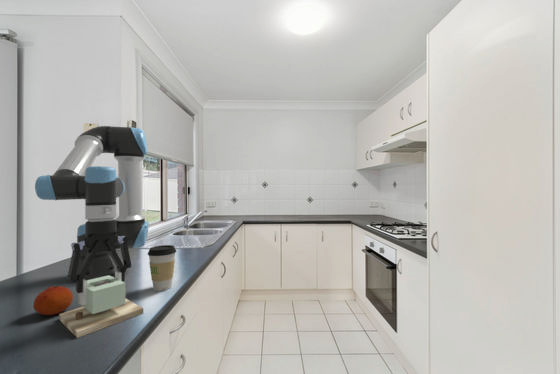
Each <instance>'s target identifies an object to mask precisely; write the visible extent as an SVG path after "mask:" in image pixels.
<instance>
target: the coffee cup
mask: <svg viewBox="0 0 560 374" xmlns="http://www.w3.org/2000/svg"><path fill="white" fill-rule="evenodd" d="M176 253H177V249H176V247H175V245H171V244H167V245H166V244H164V245H156V246H152V247H150V248H149V249H148V252H147V256H148V258H149V259H148V260H149V270H150V276H151V282H152V287H153V289H152V290H153V291H156V292H162V291H163V290H164V291H167V290H169V288H170V289H171V288H172V286H173V277H174V272H175V271H174V269H175V263H176V262H175V260H176V258H175V257H176ZM164 291H163V292H164Z"/></svg>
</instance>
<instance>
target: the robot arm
mask: <svg viewBox="0 0 560 374" xmlns="http://www.w3.org/2000/svg"><path fill="white" fill-rule="evenodd" d="M72 148H73V149H72V150H71V151H70V152H69V154H68V155H67V156H66V158H65V159H64V160H63V161H62V163H61V164H60V166H59V167H58V168H57V170H56V171H55V172H54V173H53V174H52V175H50V174H47V175H40V176H38V177H37V178H36V180H35V184H34V190H35V193H36V194H35V195H36V196H37V198H39V199H40V200H44V201H45V200H46V201H47V200H48V201H64V200H67V201H68V200H84V202H85V207H84V208H85V210H84V214H85V215H84V216H85V217H84V219H85V220H87V221H86V222H85V223H84V224H80V225H79V226H78V227H77V235H76V242H72V243H71V244H70V245H71V250H72V253H71V259H70V263H69V268H68V272H67V280H69V281H71V282H75V291H76V293H77V294H78V293H80V303H81V304H83V305H86V304H87V280H91V279H95V278H99V277H104V276H108V275H110V276H113V275H114V278H116V279H118V280H120V281H122V282H125V278H126V276H125V275H126V274H125V273H126V271H127V270H128V269H131V268H132V261H131V256H130V251H129V249H138V248H143V247H144V246H145V245H146V243H147V239H148V234H149V233H148V232H149V224H150V223H149V221H146V218H145V216H144V215H142V204H141V203H142V201H141V199H142V198H141V197H142V196H141V192H142V191H141V190H142V189H141V161H143V160H144V159H145V157H144V156H145V155H148V154H149V153H148V152H149V151H148V144H147V138H146V135H145V131H144V130H143V129H142V128H140V127H139V128H138V127H132V126H129V127H127V126H111V125H109V126H108V125H102V126H95V127H93V128H91V129H87V130H85V131H84V132H82V133H81V134H80V135H79V136H78V137H77V138H76V139H75V141H74V147H72ZM101 154H113V158H114V159H115V160H116V161H117V168H118V169H117V170H118V171H117V170H116V168H114V167H112V166H111V167H110V166H92V165H93V163H94V162H95V160H96V158H97V157H99V156H101ZM117 172H118V174H117ZM117 198H118V216H117ZM117 250H120V253H121V258H120V256H119V255H118V252H117ZM121 259H122V260H121ZM116 268H117V270H116Z"/></svg>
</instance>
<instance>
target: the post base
mask: <svg viewBox="0 0 560 374" xmlns="http://www.w3.org/2000/svg"><path fill="white" fill-rule="evenodd" d="M108 283H109V282H108V281H104V282H99V283H96V284H95V287H97V286H100V285H104V284H108ZM142 314H144V307H142V306H140V305H138V304H136V303H135V302H133V301H132V300H129V299H128V298H126V297H125V304H123V305H120V306H117V307H114V308H111V309H108V310H105V311H102V312H98V313H95V314H92V313H90V312H89V311H88V310H86V309H85V308H84V307H83V306H80V307H77V308H75V309H71V310H68V311H63V312H60V313H58V319H59V321H60V322H61V323H62V324H63V325H64V326H65V328H67V329H68V330H69V331H70V333H71V334H73V335H74V336H75V338H76V339H78V338H81V337H84V336H87V335H88V334H89V335H90V334H92V333H95V332H96V331H100V330H103V329H106V328H108V327H111V326H114V325H115V324H119V323H121V322H124V321H126V320H130V319H131V318H134V317H137V316H139V315H142Z"/></svg>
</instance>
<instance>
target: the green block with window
mask: <svg viewBox="0 0 560 374" xmlns="http://www.w3.org/2000/svg"><path fill="white" fill-rule="evenodd" d="M104 281H108V282H109V283H108V284H104V285H100V286H97V287H95V284H96V283H99V282H104ZM125 298H126V282H125V281H124V282H122V281H120V280H118V279H116V278H115V276H113V275H111V276H110V275H108V276H104V277H99V278H95V279H91V280H87V304H86V305H83V304H81V303H80V293H77V304H78V305H80V307H84V308H85V309H86V310H88V311H89V312H90V313H92V314H95V313H98V312H102V311H105V310H108V309H111V308H114V307H117V306H120V305H123V304H125Z"/></svg>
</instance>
